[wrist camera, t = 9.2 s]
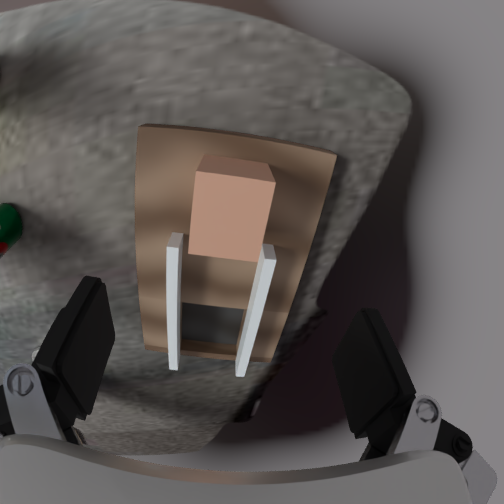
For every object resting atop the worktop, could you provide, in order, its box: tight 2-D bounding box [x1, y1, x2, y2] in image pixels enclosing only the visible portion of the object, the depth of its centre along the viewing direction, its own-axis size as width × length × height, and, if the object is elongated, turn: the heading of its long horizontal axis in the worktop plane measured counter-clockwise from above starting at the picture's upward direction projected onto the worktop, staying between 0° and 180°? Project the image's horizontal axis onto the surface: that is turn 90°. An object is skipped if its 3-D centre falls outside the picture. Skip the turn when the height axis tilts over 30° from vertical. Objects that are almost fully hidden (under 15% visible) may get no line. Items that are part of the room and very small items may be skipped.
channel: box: [166, 232, 276, 377], centre depth 28 cm, size 17×9×2 cm, turn 170°
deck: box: [135, 124, 337, 362], centre depth 28 cm, size 26×16×2 cm, turn 170°
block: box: [188, 154, 276, 262], centre depth 21 cm, size 6×5×5 cm
